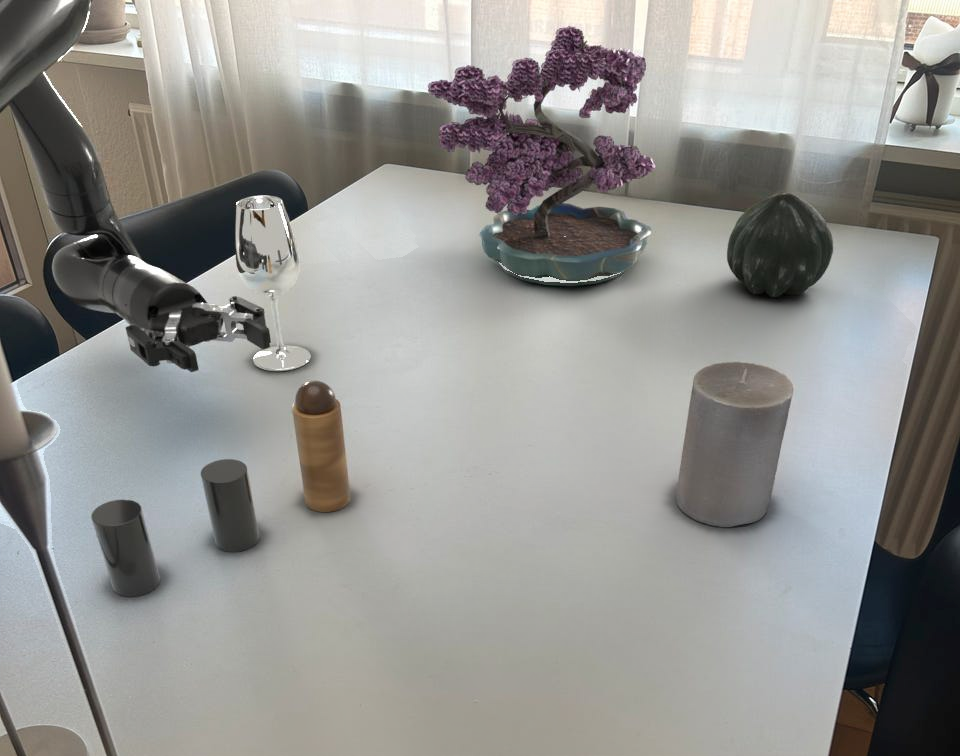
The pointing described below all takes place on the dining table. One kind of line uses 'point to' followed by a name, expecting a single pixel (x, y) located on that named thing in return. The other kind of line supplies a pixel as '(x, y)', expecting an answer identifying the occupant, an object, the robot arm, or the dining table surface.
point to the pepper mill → (321, 447)
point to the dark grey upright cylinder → (126, 547)
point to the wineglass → (268, 268)
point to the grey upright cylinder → (230, 505)
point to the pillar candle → (732, 442)
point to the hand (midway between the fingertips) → (231, 351)
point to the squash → (780, 246)
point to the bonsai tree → (551, 163)
